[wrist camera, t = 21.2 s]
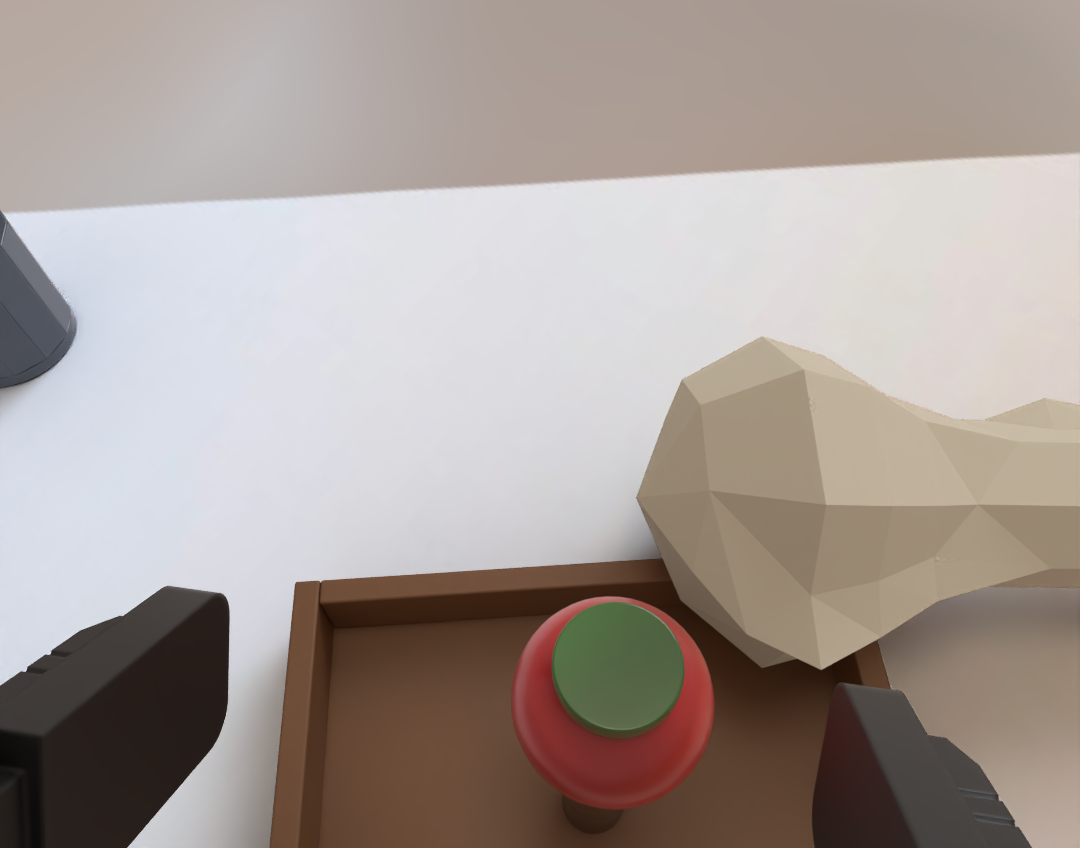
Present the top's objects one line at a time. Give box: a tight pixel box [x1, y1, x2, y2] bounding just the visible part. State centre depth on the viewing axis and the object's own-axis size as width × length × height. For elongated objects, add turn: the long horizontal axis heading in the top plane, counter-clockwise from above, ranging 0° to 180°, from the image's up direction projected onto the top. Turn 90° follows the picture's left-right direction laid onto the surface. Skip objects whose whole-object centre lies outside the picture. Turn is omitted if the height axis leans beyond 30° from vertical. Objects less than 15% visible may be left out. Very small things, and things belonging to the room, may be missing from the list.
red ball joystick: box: [511, 596, 715, 834], centre depth 18 cm, size 3×3×11 cm
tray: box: [269, 558, 891, 848], centre depth 22 cm, size 15×11×3 cm
